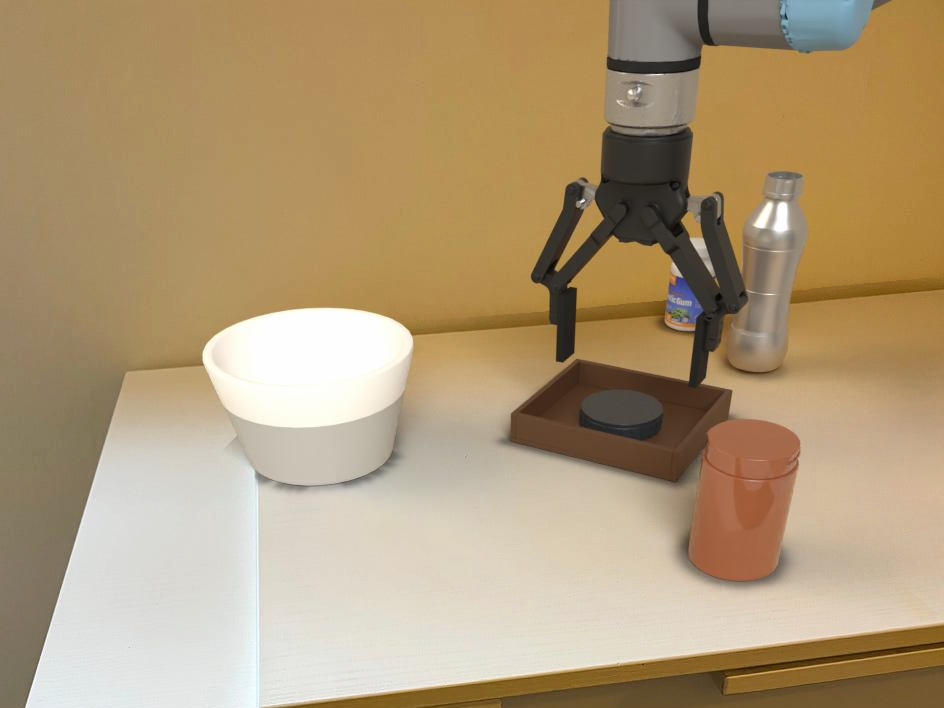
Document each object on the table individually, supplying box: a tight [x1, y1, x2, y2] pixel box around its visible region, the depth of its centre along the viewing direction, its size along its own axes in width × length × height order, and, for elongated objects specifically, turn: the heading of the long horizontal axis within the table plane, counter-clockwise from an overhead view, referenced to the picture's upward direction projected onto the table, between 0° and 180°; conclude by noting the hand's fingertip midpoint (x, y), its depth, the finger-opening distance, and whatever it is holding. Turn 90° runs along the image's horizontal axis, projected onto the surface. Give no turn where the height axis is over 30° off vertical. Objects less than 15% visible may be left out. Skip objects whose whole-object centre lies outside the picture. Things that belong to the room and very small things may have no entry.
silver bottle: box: [725, 170, 809, 373], centre depth 105 cm, size 6×7×20 cm
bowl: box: [202, 307, 415, 487], centre depth 94 cm, size 19×19×11 cm
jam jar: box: [687, 418, 801, 582], centre depth 78 cm, size 7×7×11 cm
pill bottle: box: [664, 237, 717, 332], centre depth 118 cm, size 5×5×10 cm
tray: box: [509, 358, 734, 483], centre depth 99 cm, size 17×15×3 cm
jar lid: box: [579, 390, 663, 441], centre depth 99 cm, size 8×8×2 cm
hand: (629, 369), depth 96 cm, fingers open, 13 cm apart
